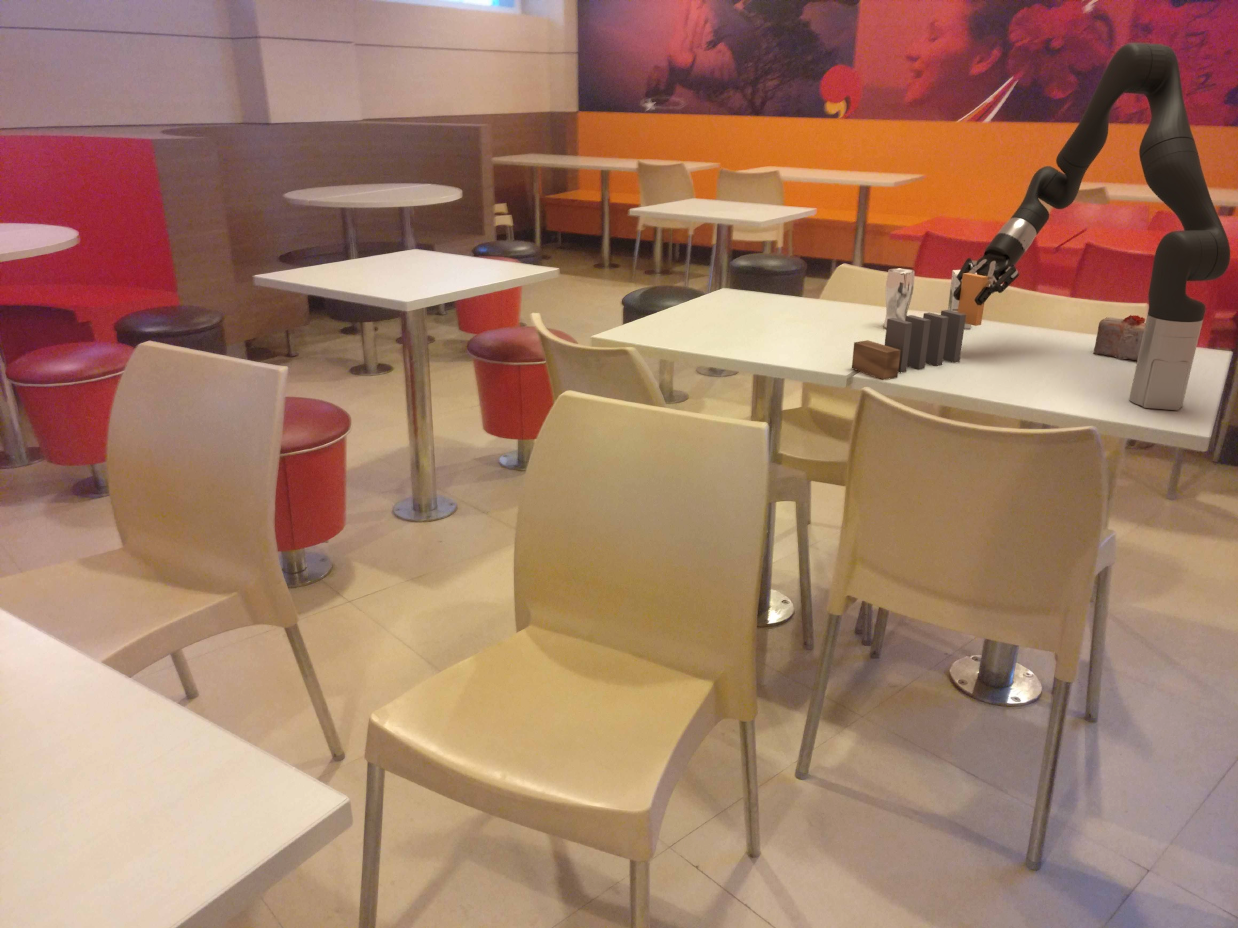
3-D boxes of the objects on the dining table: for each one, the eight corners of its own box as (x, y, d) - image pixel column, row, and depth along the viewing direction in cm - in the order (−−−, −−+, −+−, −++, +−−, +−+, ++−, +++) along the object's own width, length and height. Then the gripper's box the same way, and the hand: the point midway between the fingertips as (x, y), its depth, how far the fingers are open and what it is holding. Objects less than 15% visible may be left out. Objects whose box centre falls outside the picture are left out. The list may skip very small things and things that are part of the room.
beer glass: (878, 329, 236) (884, 271, 230) (884, 323, 241) (890, 267, 236) (905, 332, 233) (912, 274, 227) (911, 326, 238) (918, 269, 233)
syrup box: (971, 329, 235) (979, 273, 229) (947, 328, 236) (955, 273, 231) (968, 324, 240) (975, 270, 235) (944, 323, 241) (952, 269, 236)
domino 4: (940, 356, 211) (946, 309, 206) (959, 361, 206) (966, 314, 202) (935, 357, 210) (941, 310, 206) (953, 362, 205) (960, 315, 201)
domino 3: (923, 359, 208) (929, 312, 204) (942, 365, 204) (948, 317, 199) (917, 360, 207) (923, 313, 203) (936, 366, 203) (942, 318, 199)
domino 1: (888, 365, 203) (893, 317, 199) (906, 371, 199) (912, 322, 195) (882, 366, 202) (887, 318, 198) (900, 372, 198) (906, 323, 194)
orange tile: (961, 320, 210) (968, 272, 206) (981, 325, 206) (988, 276, 201) (956, 321, 209) (962, 273, 205) (975, 325, 205) (982, 277, 201)
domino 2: (906, 362, 206) (911, 315, 202) (924, 368, 201) (930, 320, 197) (900, 363, 205) (905, 316, 201) (918, 369, 200) (924, 320, 196)
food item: (1163, 359, 208) (1172, 317, 204) (1152, 366, 202) (1162, 323, 199) (1100, 349, 216) (1108, 308, 213) (1088, 355, 211) (1097, 313, 207)
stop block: (865, 366, 203) (867, 340, 201) (897, 377, 195) (900, 350, 193) (851, 368, 201) (854, 342, 199) (883, 379, 193) (886, 352, 191)
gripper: (979, 228, 209) (935, 284, 208) (1031, 236, 197) (985, 296, 197) (991, 249, 213) (948, 305, 213) (1043, 258, 202) (998, 317, 201)
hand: (966, 300), depth 205 cm, fingers closed on orange tile, 5 cm apart
